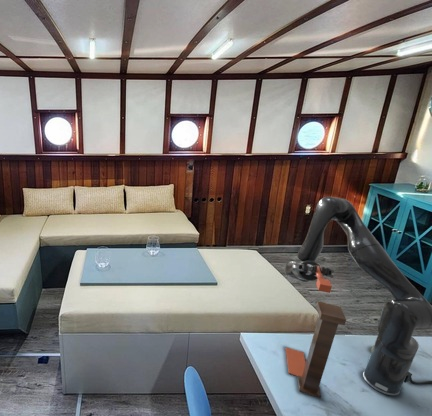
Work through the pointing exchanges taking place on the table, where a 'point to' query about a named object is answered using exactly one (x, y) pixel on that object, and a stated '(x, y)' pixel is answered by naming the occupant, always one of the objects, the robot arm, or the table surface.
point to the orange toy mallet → (322, 282)
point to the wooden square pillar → (320, 348)
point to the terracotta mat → (295, 362)
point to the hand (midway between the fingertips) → (319, 269)
